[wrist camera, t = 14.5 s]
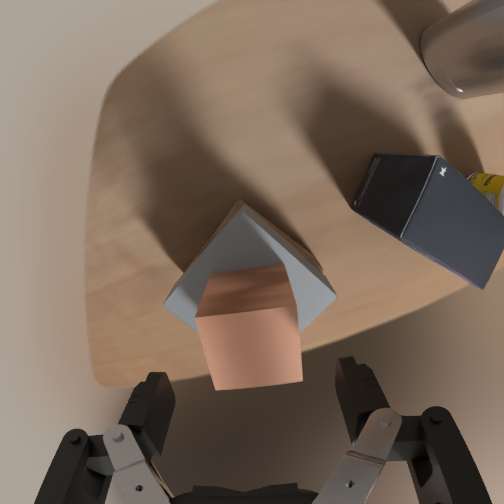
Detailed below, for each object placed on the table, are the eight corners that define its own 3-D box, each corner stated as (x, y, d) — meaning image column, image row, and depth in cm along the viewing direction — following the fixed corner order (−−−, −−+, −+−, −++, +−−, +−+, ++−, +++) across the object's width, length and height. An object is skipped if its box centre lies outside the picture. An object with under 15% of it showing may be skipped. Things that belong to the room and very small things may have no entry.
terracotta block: (284, 263, 20) (296, 305, 14) (291, 327, 21) (302, 380, 15) (210, 273, 20) (194, 317, 14) (223, 335, 21) (215, 390, 15)
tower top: (244, 203, 22) (243, 212, 19) (325, 276, 24) (337, 296, 20) (175, 283, 24) (162, 305, 21) (253, 343, 26) (253, 371, 22)
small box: (346, 211, 26) (396, 241, 16) (374, 150, 24) (437, 148, 14) (424, 255, 27) (483, 295, 17) (449, 201, 26) (516, 223, 16)
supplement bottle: (488, 170, 24) (548, 180, 15) (490, 215, 26) (546, 236, 16) (458, 172, 25) (521, 183, 15) (460, 221, 26) (520, 245, 17)
